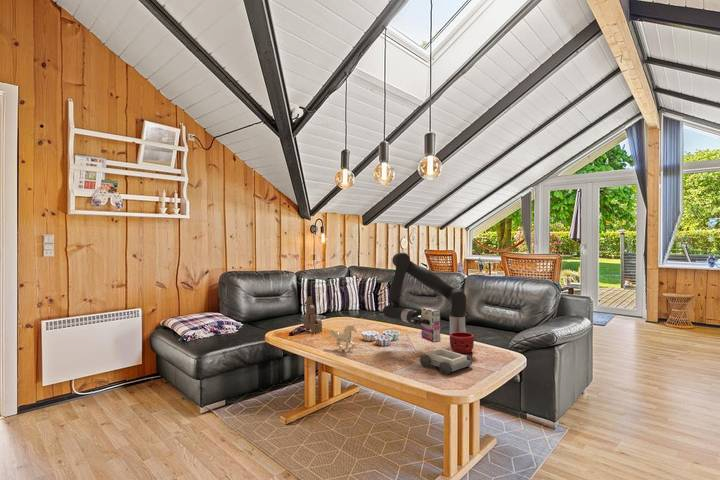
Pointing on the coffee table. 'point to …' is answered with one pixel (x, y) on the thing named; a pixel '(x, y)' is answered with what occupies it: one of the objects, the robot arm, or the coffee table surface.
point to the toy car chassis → (445, 360)
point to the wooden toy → (311, 318)
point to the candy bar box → (431, 324)
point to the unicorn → (344, 336)
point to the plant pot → (462, 343)
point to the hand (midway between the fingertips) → (433, 321)
